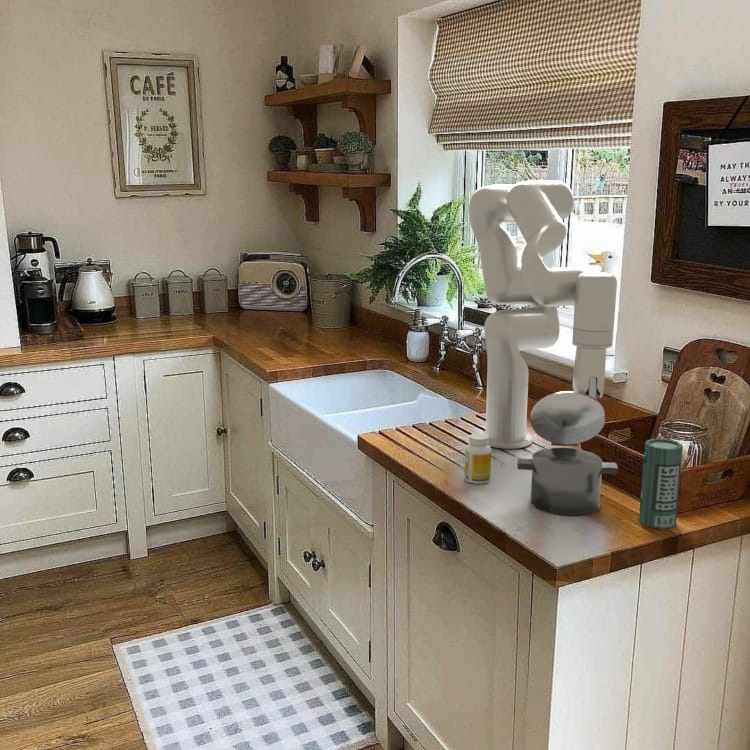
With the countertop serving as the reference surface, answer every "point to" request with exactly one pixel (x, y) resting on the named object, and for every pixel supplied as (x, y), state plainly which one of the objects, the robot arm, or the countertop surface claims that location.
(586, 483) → the pot
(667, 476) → the can
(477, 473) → the supplement bottle
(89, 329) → the countertop surface
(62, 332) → the countertop surface
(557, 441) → the lid
